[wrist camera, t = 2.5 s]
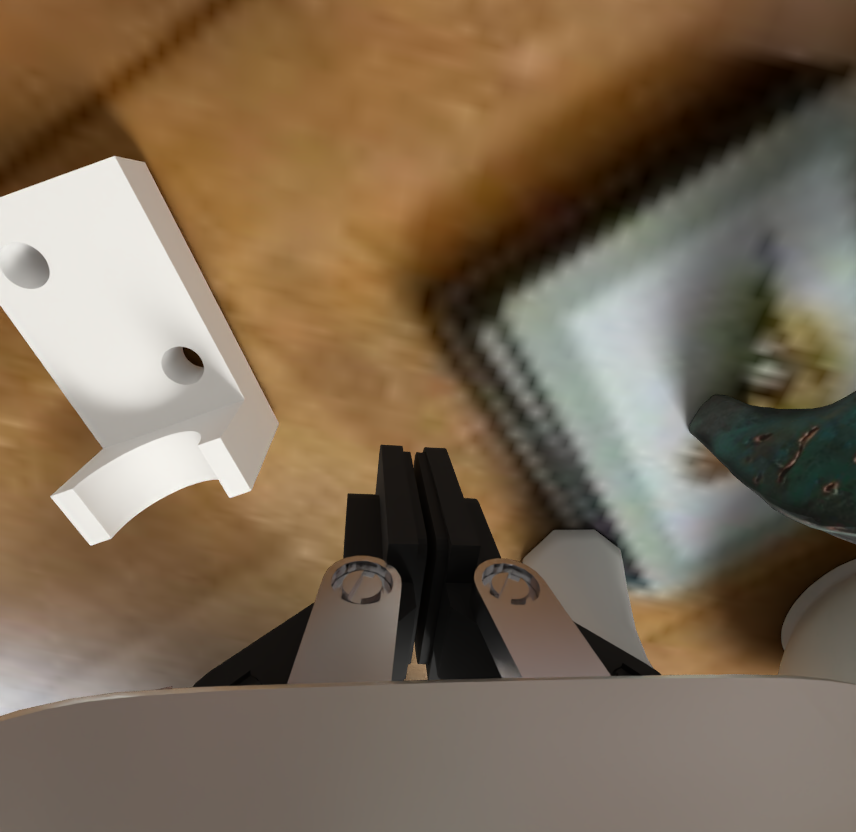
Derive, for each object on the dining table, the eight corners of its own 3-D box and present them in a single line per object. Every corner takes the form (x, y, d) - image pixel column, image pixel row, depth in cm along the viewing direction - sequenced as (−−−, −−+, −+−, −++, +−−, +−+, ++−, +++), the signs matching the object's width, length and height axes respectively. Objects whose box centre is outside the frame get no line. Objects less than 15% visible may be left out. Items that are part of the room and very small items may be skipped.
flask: (499, 594, 33) (549, 740, 24) (547, 513, 31) (622, 641, 22) (584, 615, 35) (660, 757, 26) (635, 539, 33) (739, 667, 23)
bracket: (281, 416, 26) (251, 490, 19) (163, 457, 26) (90, 545, 19) (154, 164, 21) (47, 141, 14) (5, 217, 21) (-174, 222, 14)
